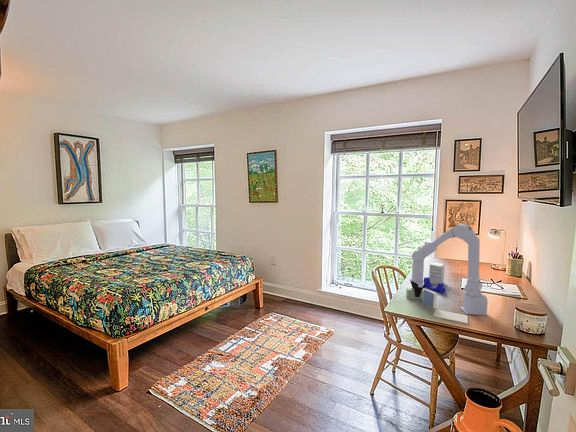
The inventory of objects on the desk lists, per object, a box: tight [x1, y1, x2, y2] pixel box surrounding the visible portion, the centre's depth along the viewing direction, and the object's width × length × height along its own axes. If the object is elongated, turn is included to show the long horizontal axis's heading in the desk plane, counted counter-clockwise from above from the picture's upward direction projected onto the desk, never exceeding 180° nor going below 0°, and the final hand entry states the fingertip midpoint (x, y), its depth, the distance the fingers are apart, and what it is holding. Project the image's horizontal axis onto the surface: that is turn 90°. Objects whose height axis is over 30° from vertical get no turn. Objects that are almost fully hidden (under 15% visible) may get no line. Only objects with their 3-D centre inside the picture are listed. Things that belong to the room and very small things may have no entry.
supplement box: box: [428, 261, 445, 286], centre depth 187 cm, size 7×7×13 cm
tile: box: [422, 288, 438, 310], centre depth 152 cm, size 2×7×8 cm, turn 20°
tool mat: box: [433, 308, 469, 325], centre depth 140 cm, size 14×9×1 cm, turn 60°
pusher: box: [405, 287, 425, 300], centre depth 162 cm, size 10×3×5 cm, turn 80°
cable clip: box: [423, 276, 447, 294], centre depth 176 cm, size 12×4×6 cm, turn 21°
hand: (416, 295), depth 162 cm, fingers open, 4 cm apart
